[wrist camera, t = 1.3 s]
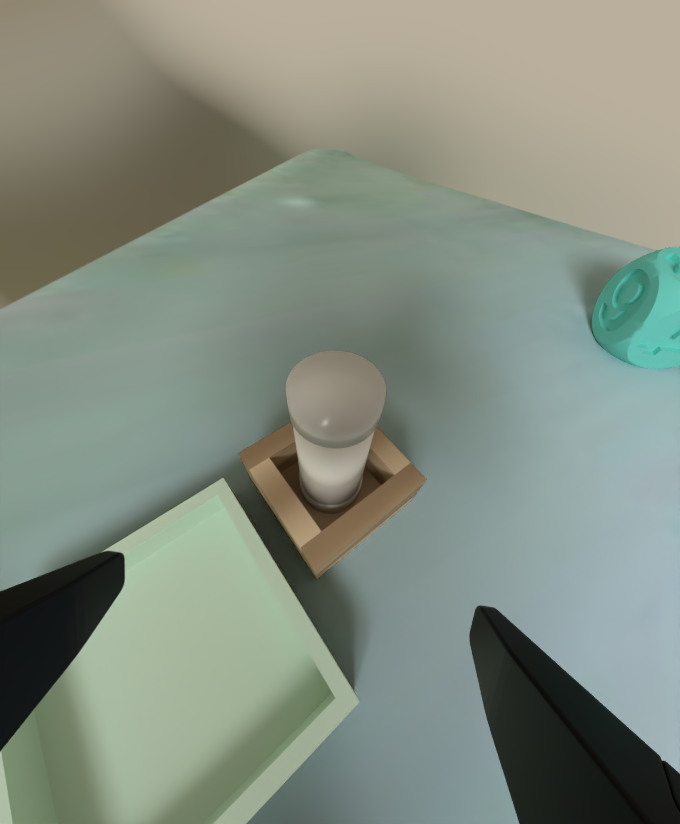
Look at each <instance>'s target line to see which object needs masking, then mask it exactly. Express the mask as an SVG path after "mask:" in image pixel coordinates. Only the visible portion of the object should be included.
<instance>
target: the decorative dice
mask: <svg viewBox="0 0 680 824" xmlns="http://www.w3.org/2000/svg"><path fill="white" fill-rule="evenodd" d="M592 330H593V334H594V336H595V338H596V340H597V341H598V343H599V344H600V345H601V346H602V347H603V348H604V349H605V350H606V351H607V352H609V353H610V354H611V355H613V356H614V357H616V358H618V359H620V360H622V361H624V362H626V363H628V364H631V365H634V366H638V367H643V368H652V369H661V368H671V367H677V366H680V247H669V248H665V249H661V250H658V251H655V252H652V253H649V254H647V255H645V256H642V257H640V258H638V259H636V260H635V261H633V262H631V263H630V264H628V265H627V266H625V267H624V268H622V269H621V270H620V271H618V272H617V273H616V274H615V275H614V276H613V277H612V278H611V279H610V280H609V282H608V283H607V284H606V286H605V287H604V289H603V290H602V292H601V293H600V295H599V297H598V299H597V302H596V304H595V307H594V311H593V315H592Z"/></svg>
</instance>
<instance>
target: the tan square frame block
mask: <svg viewBox="0 0 680 824" xmlns="http://www.w3.org/2000/svg"><path fill="white" fill-rule="evenodd" d="M238 454H239V456H240V458H241V460H242V462H243V464H244V466H245V468H246V470H247V472H248V474H249V476H250V478H251V480H252V481H253V483H254V484H255V486H256V487H257V489H258V490H259V492H260V494H261V495H262V497H263V498H264V500H265V501H266V503H267V504H268V506H269V507H270V509H271V510H272V512H273V513H274V515H275V516H276V518H277V520H278V521H279V523H280V524H281V526H282V527H283V529H284V530H285V532H286V533H287V535H288V536H289V538H290V539H291V541H292V543H293V544H294V546H295V547H296V549H297V550H298V552H299V553H300V555H301V556H302V558H303V559H304V561H305V562H306V564H307V565H308V567H309V569H310V570H311V572H312V573H313V575H314V576H315V578H316V579H318V578H319V577H320V576H321V575H322V574H324V573H325V572H326V571H327V570H328V569H330V568H331V567H332V566H333V565H335V564H336V563H337V562H338V561H339V560H341V559H342V558H343V557H344V556H345V555H347V554H348V553H349V552H350V551H351V550H353V549H354V548H355V547H356V546H357V545H359V544H360V543H361V542H362V541H363V540H365V539H366V538H367V537H368V536H369V535H371V534H372V533H373V532H374V531H375V530H377V529H378V528H379V527H380V526H381V525H383V524H384V523H385V522H386V521H387V520H389V519H390V518H391V517H392V516H393V515H395V514H396V513H397V512H398V511H399V510H401V509H402V508H403V507H404V506H405V505H407V504H408V503H409V502H410V501H411V500H412V499H413V498H414V496H415V495H416V494H417V492H418V491H419V489H420V488H421V487H422V485H423V484H424V482H425V481H426V480H427V479H426V478H425V477H424V476H423V475H422V474H421V473H420V472H419V471H418V470H417V469H416V467H415V466H414V465H413V464H412V463H411V462H410V461H409V460H408V459H407V458H406V457H405V456H404V455H403V454H402V453H401V452H400V451H399V450H398V448H397V447H396V446H395V445H394V444H393V443H392V442H391V441H390V440H389V439H388V438H387V437H386V436H385V435H384V434H383V433H382V432H381V431H380V429H379V428H378V427H376V429H375V430H374V434H373V438H372V442H371V445H370V449H369V453H368V457H367V460H366V464H365V468H364V472H363V479H362V485H361V488H360V492H359V495H358V497H357V499H356V501H355V502H354V503H353V505H352V506H350V507H349V508H348V509H346V510H344V511H342V512H339V513H335V514H326V513H321V512H319V511H316V510H315V509H313V508H312V507H310V506H309V505H308V504H307V502H306V501H305V499H304V498H303V496H302V493H301V488H300V481H299V473H300V470H299V463H298V456H297V449H296V443H295V436H294V429H293V425H292V422H290V423H288V424H287V425H285V426H283V427H282V428H280V429H278V430H277V431H275V432H273V433H272V434H270V435H268V436H267V437H265V438H263V439H261V440H260V441H258V442H256V443H255V444H253V445H251V446H250V447H248V448H246V449H245V450H243V451H241V452H240V453H238Z"/></svg>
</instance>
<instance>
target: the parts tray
mask: <svg viewBox="0 0 680 824" xmlns="http://www.w3.org/2000/svg"><path fill="white" fill-rule="evenodd" d="M104 551H115V552H121V553H123V554H124V557H125V583H124V586H123V588H122V590H121V592H120V594H119V595H118V597H117V598H116V600H115V601H114V602H113V604H112V605H111V607H110V608H109V610H108V611H107V613H106V614H105V616H104V617H103V619H102V620H101V622H100V623H99V625H98V626H97V628H96V629H95V630H94V632H93V633H92V635H91V636H90V638H89V639H88V641H87V642H86V644H85V645H84V647H83V648H82V649H81V651H80V652H79V653H78V655H77V656H76V657H75V659H74V660H73V661H72V663H71V664H70V665H69V666H68V668H67V669H66V670H65V671H64V673H63V674H62V675H61V676H60V678H59V679H58V680H57V681H56V683H55V684H54V685H53V686H52V688H51V689H50V690H49V691H48V693H47V694H46V695H45V696H44V698H43V699H42V700H41V701H40V703H39V704H38V705H37V707H36V708H35V709H34V710H33V712H32V713H31V714H30V715H29V717H28V718H27V719H26V720H25V722H24V723H23V724H22V725H21V727H20V728H19V729H18V730H17V732H16V733H15V734H14V735H13V737H12V738H11V739H10V740H9V742H8V743H7V744H6V745H5V747H4V748H3V749H2V750H1V752H0V824H246V823H247V822H248V821H249V820H250V819H251V818H252V817H253V816H254V815H255V814H256V813H257V812H258V810H259V809H260V808H261V807H262V806H263V805H264V804H265V803H266V802H267V801H268V800H269V799H270V798H271V797H272V795H273V794H274V793H275V792H276V791H277V790H278V789H279V788H280V787H281V786H282V785H283V784H284V783H285V782H286V781H287V779H288V778H289V777H290V776H291V775H292V774H293V773H294V772H295V771H296V770H297V769H298V768H299V767H300V766H301V765H302V763H303V762H304V761H305V760H306V759H307V758H308V757H309V756H310V755H311V754H312V753H313V752H314V751H315V750H316V748H317V747H318V746H319V745H320V744H321V743H322V742H323V741H324V740H325V739H326V738H327V737H328V736H329V735H330V734H331V732H332V731H333V730H334V729H335V728H336V727H337V726H338V725H339V724H340V723H341V722H342V721H343V720H344V719H345V717H346V716H347V715H348V714H349V713H350V712H351V711H352V710H353V709H354V708H355V707H356V706H357V705H358V704H359V703H360V702H359V700H358V698H357V696H356V693H355V691H354V690H353V688H352V686H351V685H350V683H349V682H348V680H347V678H346V677H345V675H344V673H343V672H342V670H341V668H340V667H339V665H338V664H337V662H336V660H335V659H334V657H333V655H332V654H331V652H330V650H329V649H328V647H327V645H326V644H325V642H324V641H323V639H322V637H321V636H320V634H319V632H318V631H317V629H316V627H315V626H314V624H313V622H312V621H311V619H310V618H309V616H308V614H307V613H306V611H305V609H304V608H303V606H302V604H301V603H300V601H299V600H298V598H297V596H296V595H295V593H294V591H293V590H292V588H291V586H290V585H289V583H288V581H287V580H286V578H285V577H284V575H283V573H282V572H281V570H280V568H279V567H278V565H277V563H276V562H275V560H274V558H273V557H272V555H271V554H270V552H269V550H268V549H267V547H266V545H265V544H264V542H263V540H262V539H261V537H260V536H259V534H258V532H257V531H256V529H255V527H254V526H253V524H252V522H251V521H250V519H249V517H248V516H247V514H246V513H245V511H244V509H243V508H242V506H241V504H240V503H239V501H238V499H237V498H236V496H235V495H234V493H233V491H232V490H231V488H230V487H229V485H228V484H227V482H226V481H225V479H224V478H222V479H220V480H218V481H217V482H215V483H214V484H212V485H210V486H209V487H207V488H205V489H204V490H202V491H200V492H199V493H197V494H196V495H194V496H192V497H191V498H189V499H187V500H186V501H184V502H182V503H181V504H179V505H178V506H176V507H174V508H173V509H171V510H169V511H168V512H166V513H165V514H163V515H161V516H160V517H158V518H156V519H155V520H153V521H151V522H150V523H148V524H147V525H145V526H143V527H142V528H140V529H138V530H137V531H135V532H133V533H132V534H130V535H129V536H127V537H125V538H124V539H122V540H120V541H119V542H117V543H115V544H114V545H112V546H111V547H109V548H107V549H106V550H104ZM104 551H102V552H104Z"/></svg>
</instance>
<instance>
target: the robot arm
mask: <svg viewBox="0 0 680 824" xmlns="http://www.w3.org/2000/svg"><path fill="white" fill-rule="evenodd" d="M124 583H125V557H124V554H123V553H121V552H115V551H104V552H101V553H98V554H96V555H93V556H91V557H88V558H85V559H83V560H80V561H78V562H75V563H73V564H70V565H67V566H65V567H62V568H60V569H57V570H55V571H52V572H49V573H47V574H44V575H42V576H39V577H36V578H34V579H31V580H29V581H26V582H24V583H21V584H18V585H16V586H13V587H11V588H8V589H6V590H3V591H0V752H1V750H2V749H3V748H4V747H5V745H6V744H7V743H8V742H9V740H10V739H11V738H12V737H13V735H14V734H15V733H16V732H17V730H18V729H19V728H20V727H21V725H22V724H23V723H24V722H25V720H26V719H27V718H28V717H29V715H30V714H31V713H32V712H33V710H34V709H35V708H36V707H37V705H38V704H39V703H40V701H41V700H42V699H43V698H44V696H45V695H46V694H47V693H48V691H49V690H50V689H51V688H52V686H53V685H54V684H55V683H56V681H57V680H58V679H59V678H60V676H61V675H62V674H63V673H64V671H65V670H66V669H67V668H68V666H69V665H70V664H71V663H72V661H73V660H74V659H75V657H76V656H77V655H78V653H79V652H80V651H81V649H82V648H83V647H84V645H85V644H86V642H87V641H88V639H89V638H90V636H91V635H92V633H93V632H94V630H95V629H96V628H97V626H98V625H99V623H100V622H101V620H102V619H103V617H104V616H105V614H106V613H107V611H108V610H109V608H110V607H111V605H112V604H113V602H114V601H115V600H116V598H117V597H118V595H119V594H120V592H121V590H122V588H123V586H124ZM470 646H471V650H472V655H473V659H474V664H475V668H476V673H477V677H478V682H479V686H480V691H481V695H482V700H483V704H484V709H485V713H486V717H487V721H488V724H489V727H490V731H491V734H492V737H493V741H494V744H495V747H496V750H497V753H498V757H499V760H500V763H501V766H502V769H503V772H504V776H505V779H506V782H507V785H508V788H509V792H510V795H511V798H512V801H513V804H514V808H515V811H516V814H517V817H518V820H519V823H520V824H680V774H679V773H678V772H677V771H676V770H675V769H674V768H673V767H672V766H671V765H669V764H668V763H667V762H666V761H662V760H661V757H660V756H659V755H658V754H657V753H656V752H655V751H654V750H653V749H651V748H650V747H649V746H648V745H647V744H646V743H645V742H644V741H643V740H641V739H640V738H639V737H638V736H637V735H636V734H635V733H634V732H633V731H631V730H630V729H629V728H628V727H627V726H626V725H625V724H624V723H623V722H621V721H620V720H619V719H618V718H617V717H616V716H615V715H614V714H613V713H611V712H610V711H609V710H608V709H607V708H606V707H605V706H604V705H603V704H601V703H600V702H599V701H598V700H597V699H596V698H595V697H594V696H593V695H591V694H590V693H589V692H588V691H587V690H586V689H585V688H584V687H583V686H581V685H580V684H579V683H578V682H577V681H576V680H575V679H574V678H572V677H571V676H570V675H569V674H568V673H567V672H566V671H565V670H564V669H562V668H561V667H560V666H559V665H558V664H557V663H556V662H555V661H554V660H552V659H551V658H550V657H549V656H548V655H547V654H546V653H545V652H544V651H542V650H541V649H540V648H539V647H538V646H537V645H536V644H535V643H534V642H532V641H531V640H530V639H529V638H528V637H527V636H526V635H525V634H524V633H522V632H521V631H520V630H519V629H518V628H517V627H516V626H515V625H514V624H512V623H511V622H510V621H509V620H508V619H507V618H506V617H505V616H504V615H502V614H501V613H500V612H499V611H498V610H497V609H495V608H493V607H487V606H478V607H477V608H476V610H475V613H474V617H473V621H472V625H471V630H470Z"/></svg>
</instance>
